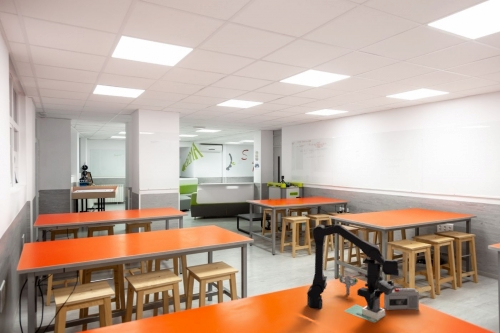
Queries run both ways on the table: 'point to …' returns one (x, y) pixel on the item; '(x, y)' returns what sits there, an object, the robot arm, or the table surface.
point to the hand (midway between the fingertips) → (373, 307)
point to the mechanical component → (348, 282)
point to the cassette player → (402, 299)
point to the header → (373, 313)
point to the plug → (375, 305)
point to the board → (360, 313)
